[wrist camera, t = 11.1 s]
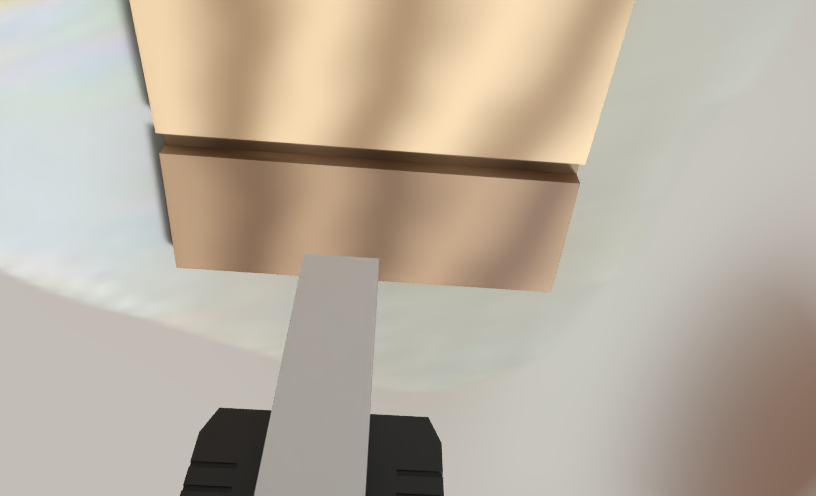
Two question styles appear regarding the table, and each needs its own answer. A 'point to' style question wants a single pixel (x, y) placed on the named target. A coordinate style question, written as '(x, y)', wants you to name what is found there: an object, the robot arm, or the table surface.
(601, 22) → the plank
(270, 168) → the laid strip
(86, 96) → the table surface
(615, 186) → the table surface
